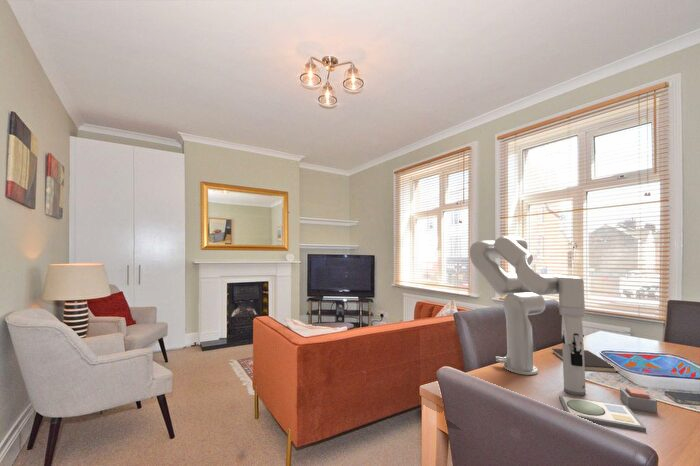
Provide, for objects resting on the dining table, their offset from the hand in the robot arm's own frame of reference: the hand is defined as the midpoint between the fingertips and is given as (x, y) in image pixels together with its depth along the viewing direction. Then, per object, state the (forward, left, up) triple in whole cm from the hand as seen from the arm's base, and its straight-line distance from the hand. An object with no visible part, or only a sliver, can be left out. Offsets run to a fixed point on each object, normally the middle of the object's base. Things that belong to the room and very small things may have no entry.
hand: (574, 361), depth 114 cm
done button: (+16, -4, -8) cm, 18 cm away
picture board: (+3, -15, -10) cm, 18 cm away
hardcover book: (+10, +38, -11) cm, 41 cm away
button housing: (+16, -4, -10) cm, 19 cm away
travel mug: (0, 0, -11) cm, 11 cm away
